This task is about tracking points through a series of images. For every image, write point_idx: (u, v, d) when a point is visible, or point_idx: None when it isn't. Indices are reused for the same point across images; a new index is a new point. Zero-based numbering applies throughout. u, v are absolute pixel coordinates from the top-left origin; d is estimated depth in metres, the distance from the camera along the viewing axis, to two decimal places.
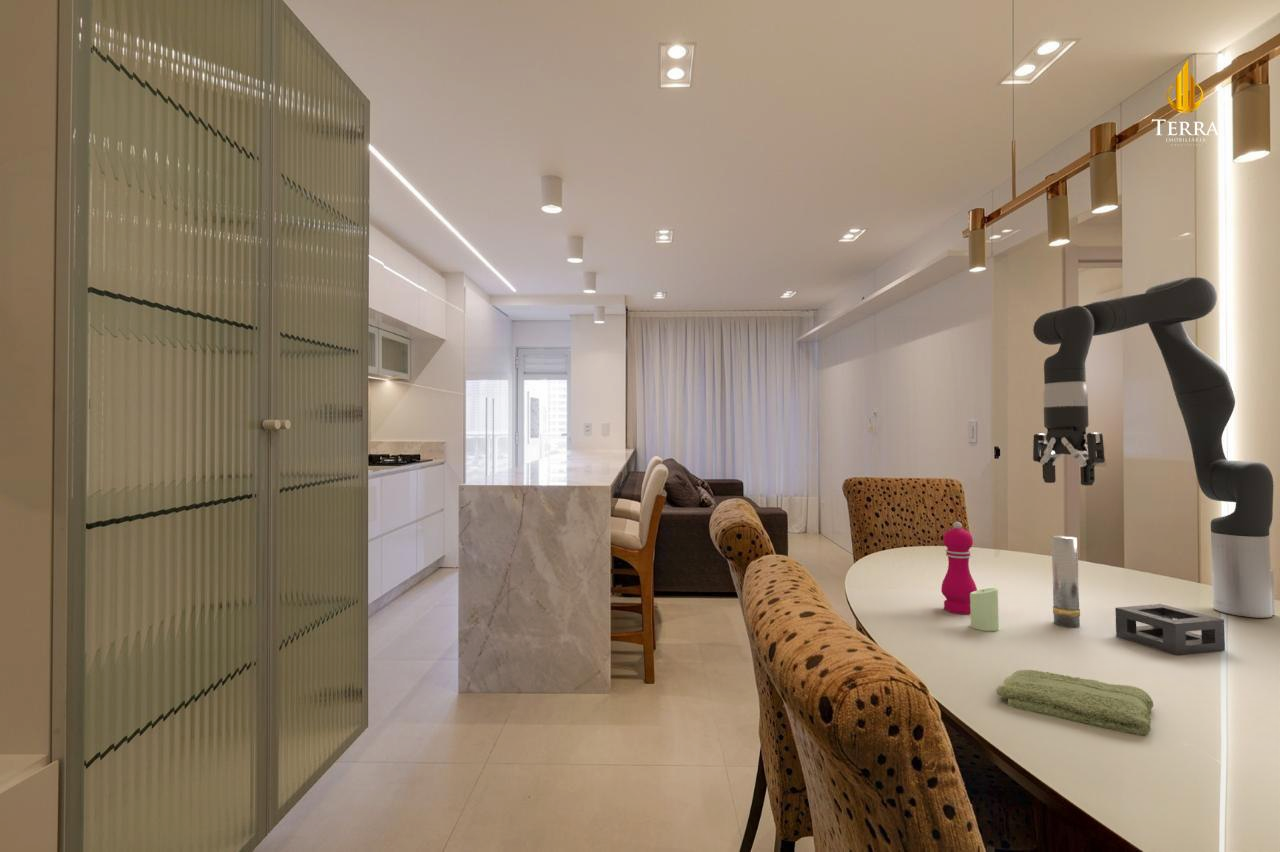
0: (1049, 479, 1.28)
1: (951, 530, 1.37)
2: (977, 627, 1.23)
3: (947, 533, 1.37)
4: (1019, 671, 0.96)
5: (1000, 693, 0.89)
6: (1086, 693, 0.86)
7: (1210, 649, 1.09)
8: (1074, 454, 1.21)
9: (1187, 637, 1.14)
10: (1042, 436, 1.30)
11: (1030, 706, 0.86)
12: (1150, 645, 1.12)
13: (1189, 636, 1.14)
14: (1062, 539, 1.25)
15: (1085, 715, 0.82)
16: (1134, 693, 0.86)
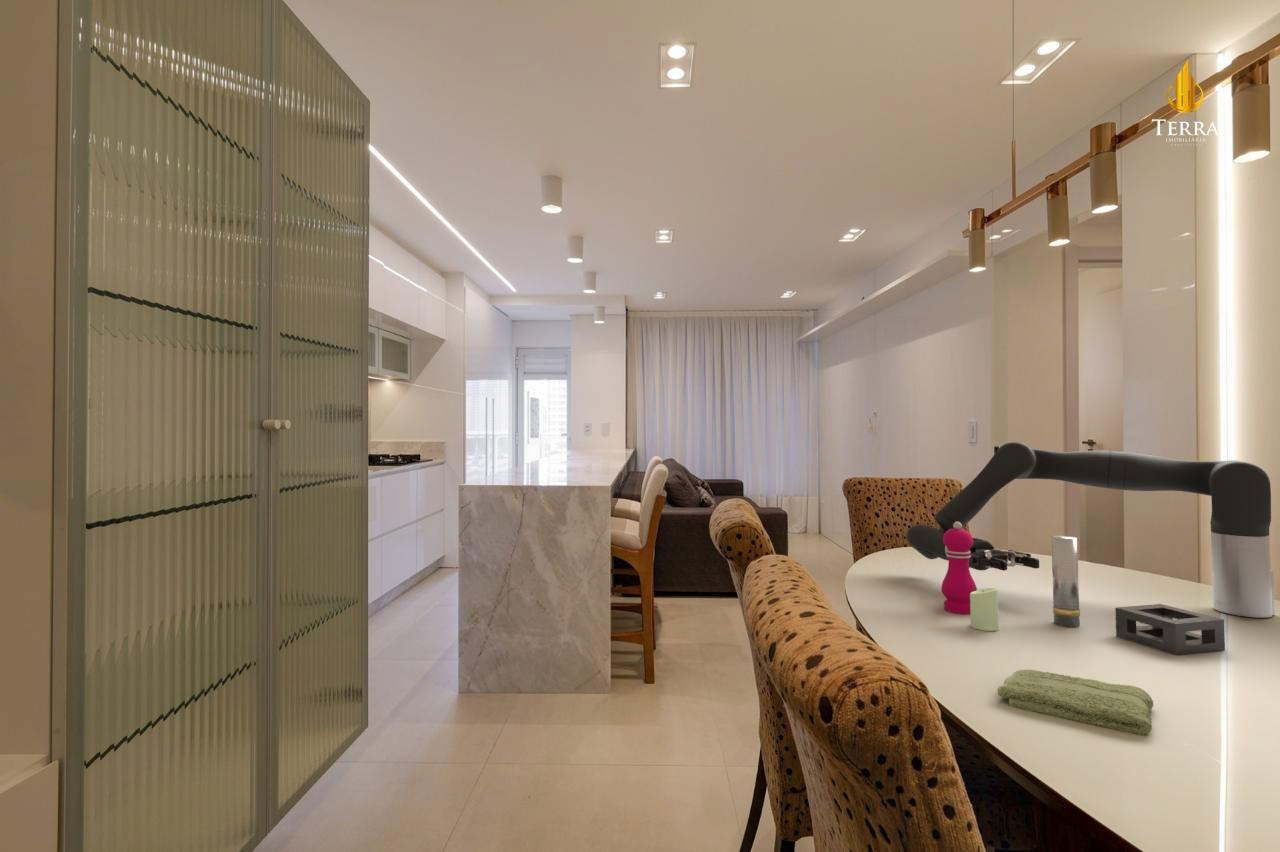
0: (1034, 565, 1.39)
1: (951, 530, 1.37)
2: (977, 627, 1.23)
3: (947, 533, 1.37)
4: (1019, 671, 0.96)
5: (1001, 693, 0.89)
6: (1087, 693, 0.86)
7: (1210, 649, 1.09)
8: None
9: (1187, 637, 1.14)
10: None
11: (1031, 706, 0.86)
12: (1150, 645, 1.12)
13: (1189, 636, 1.14)
14: (1062, 539, 1.25)
15: (1087, 715, 0.82)
16: (1135, 693, 0.86)
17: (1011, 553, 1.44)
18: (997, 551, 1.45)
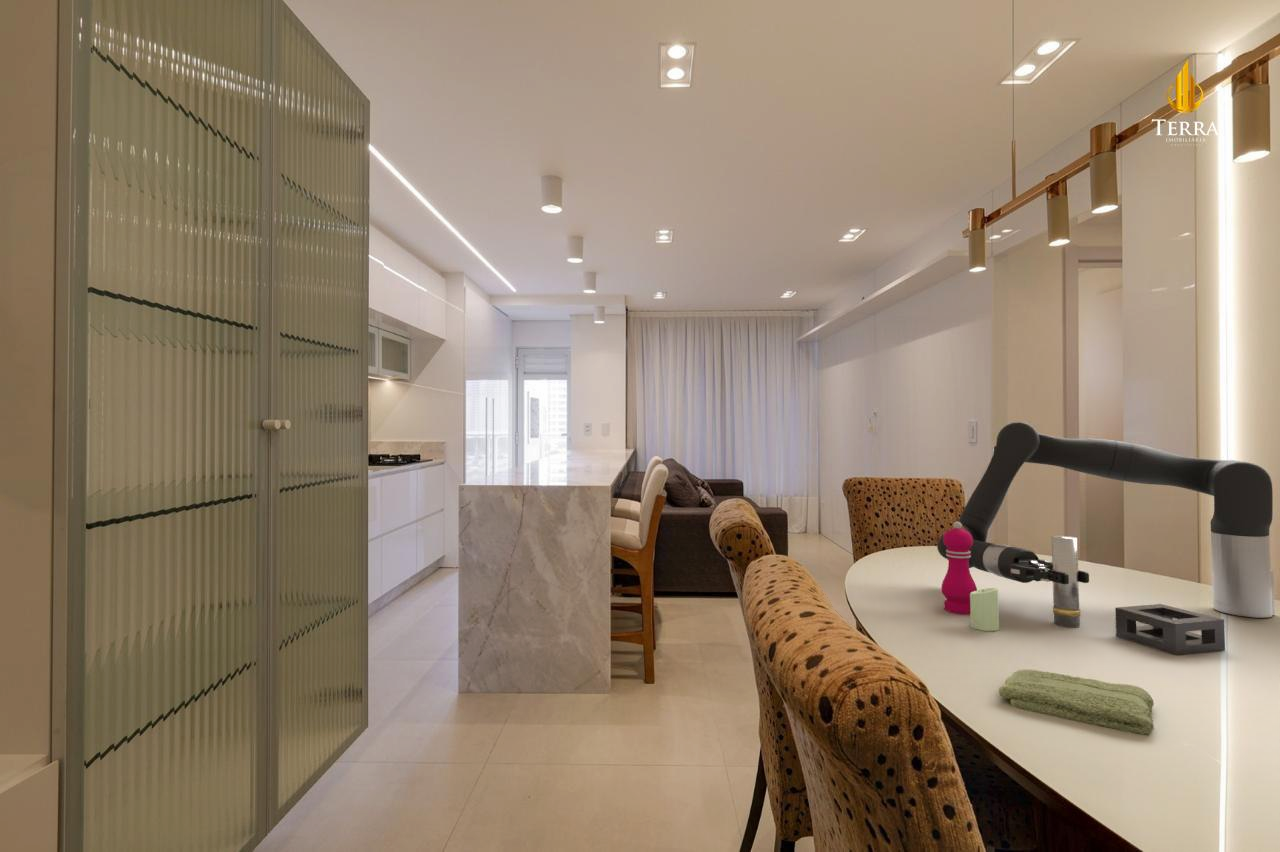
0: (1083, 579, 1.25)
1: (951, 530, 1.37)
2: (977, 627, 1.23)
3: (947, 533, 1.37)
4: (1019, 671, 0.96)
5: (1003, 693, 0.89)
6: (1088, 693, 0.86)
7: (1210, 649, 1.09)
8: (1041, 580, 1.30)
9: (1187, 637, 1.14)
10: None
11: (1033, 706, 0.86)
12: (1150, 645, 1.12)
13: (1189, 636, 1.14)
14: (1062, 539, 1.25)
15: (1088, 715, 0.83)
16: (1135, 693, 0.86)
17: None
18: (1042, 562, 1.33)
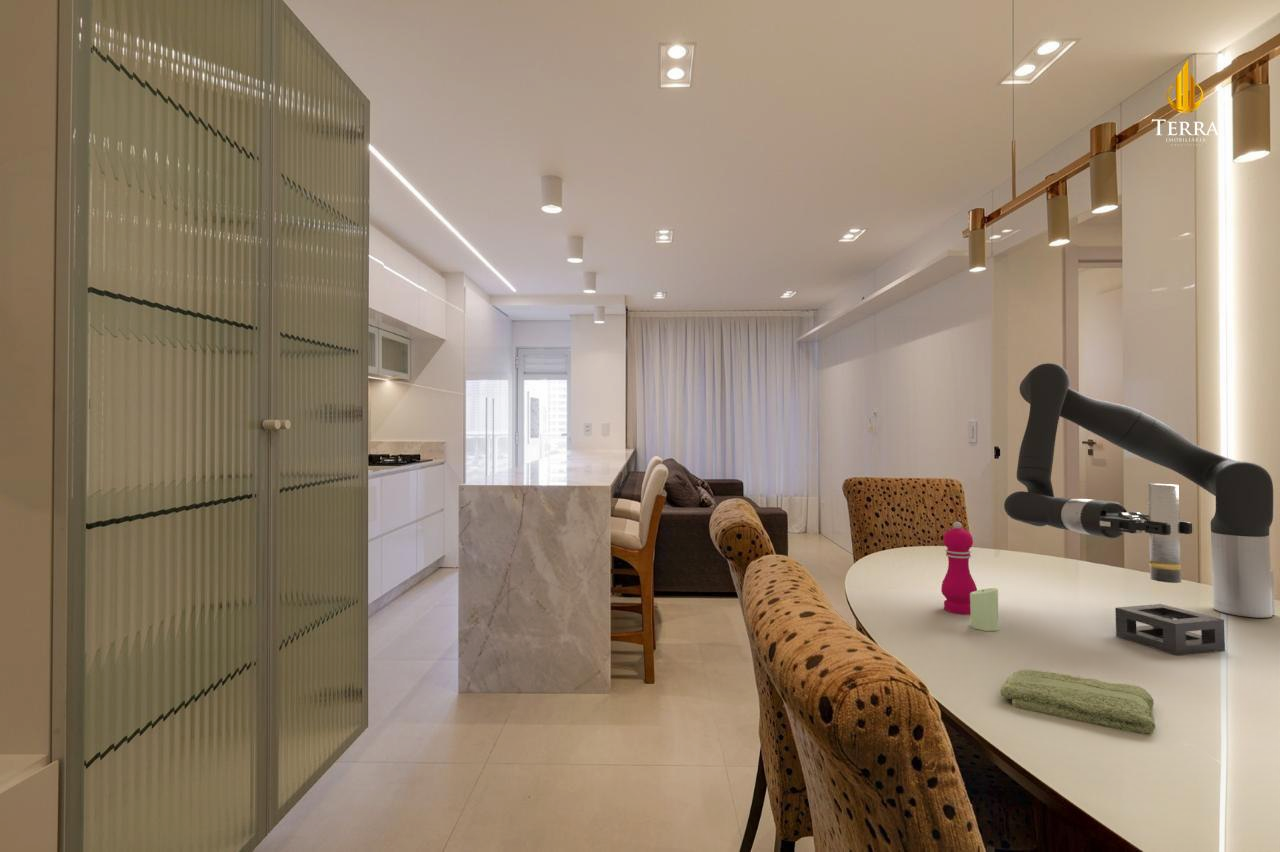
0: (1185, 530, 1.13)
1: (951, 530, 1.37)
2: (977, 627, 1.23)
3: (947, 533, 1.37)
4: (1020, 671, 0.96)
5: (1004, 693, 0.89)
6: (1089, 692, 0.86)
7: (1210, 649, 1.09)
8: None
9: (1187, 637, 1.14)
10: None
11: (1035, 706, 0.86)
12: (1150, 645, 1.12)
13: (1189, 636, 1.14)
14: (1162, 486, 1.13)
15: (1090, 715, 0.83)
16: (1136, 692, 0.86)
17: None
18: (1133, 514, 1.21)
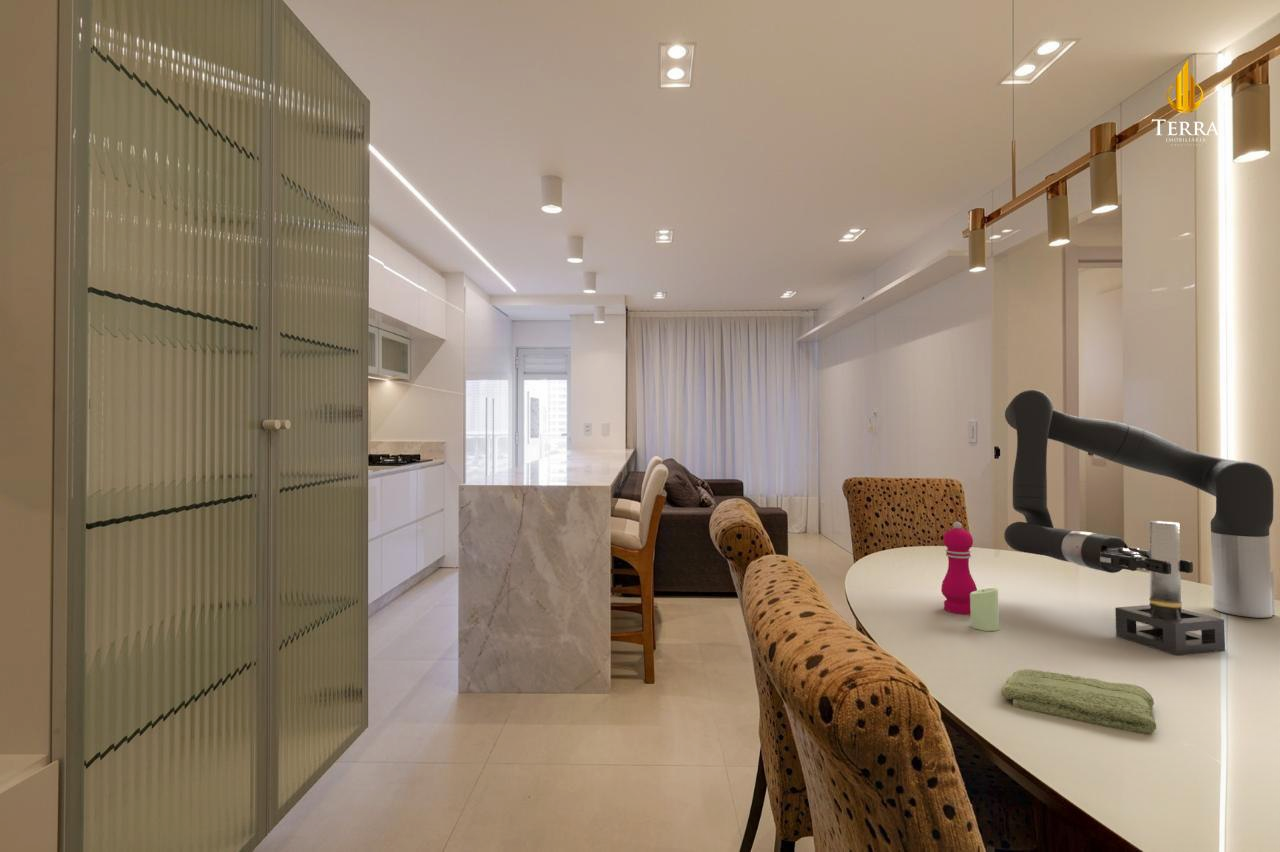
0: (1185, 569, 1.13)
1: (951, 530, 1.37)
2: (977, 627, 1.23)
3: (947, 533, 1.37)
4: (1020, 671, 0.96)
5: (1005, 694, 0.89)
6: (1090, 692, 0.86)
7: (1210, 649, 1.09)
8: None
9: (1187, 637, 1.14)
10: None
11: (1035, 706, 0.86)
12: (1150, 645, 1.12)
13: (1189, 636, 1.14)
14: (1163, 524, 1.13)
15: (1091, 715, 0.83)
16: (1136, 692, 0.86)
17: None
18: (1134, 550, 1.21)
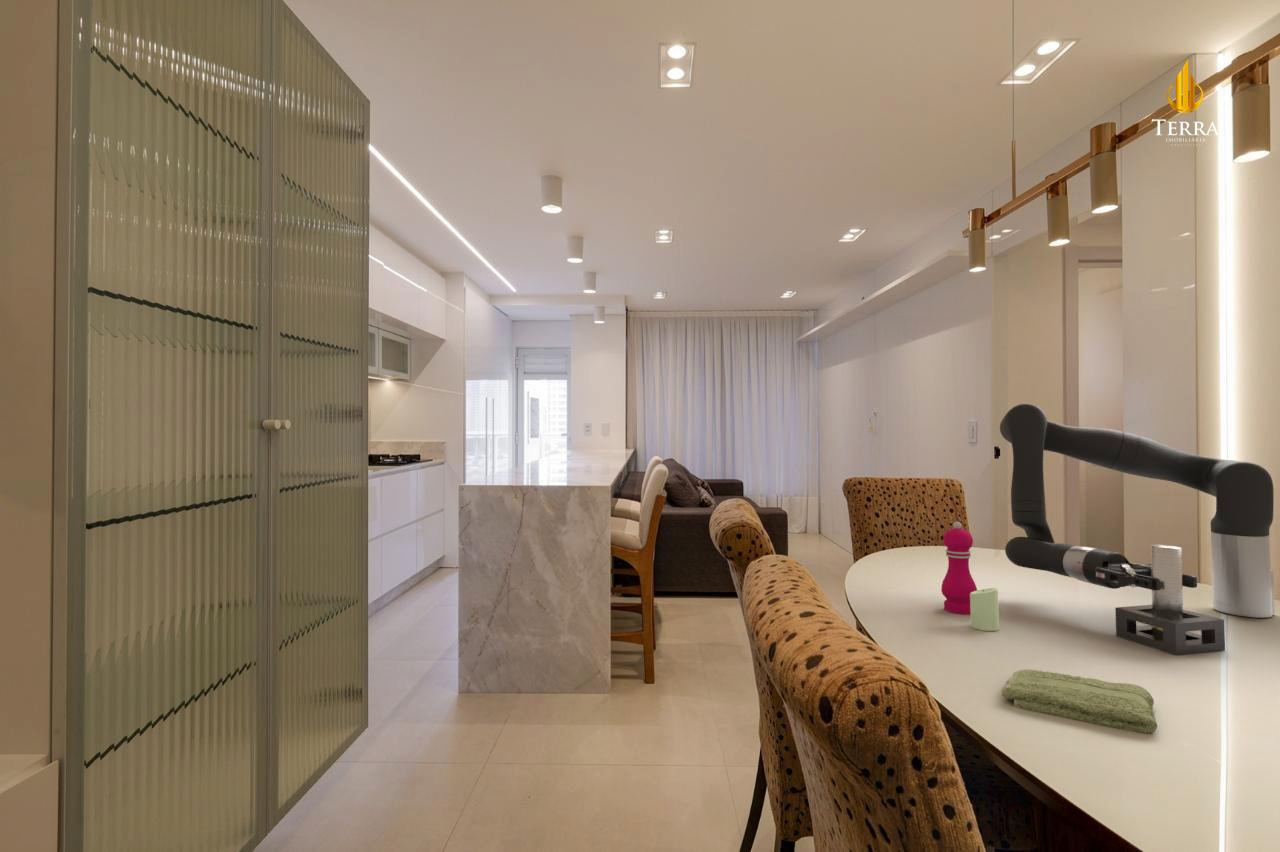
0: (1190, 583, 1.14)
1: (951, 530, 1.37)
2: (977, 627, 1.23)
3: (947, 533, 1.37)
4: (1020, 671, 0.96)
5: (1006, 694, 0.89)
6: (1090, 692, 0.86)
7: (1210, 649, 1.09)
8: None
9: (1187, 637, 1.14)
10: None
11: (1037, 707, 0.86)
12: (1150, 645, 1.12)
13: (1189, 636, 1.14)
14: (1165, 549, 1.13)
15: (1092, 715, 0.83)
16: (1136, 691, 0.86)
17: None
18: (1137, 566, 1.21)
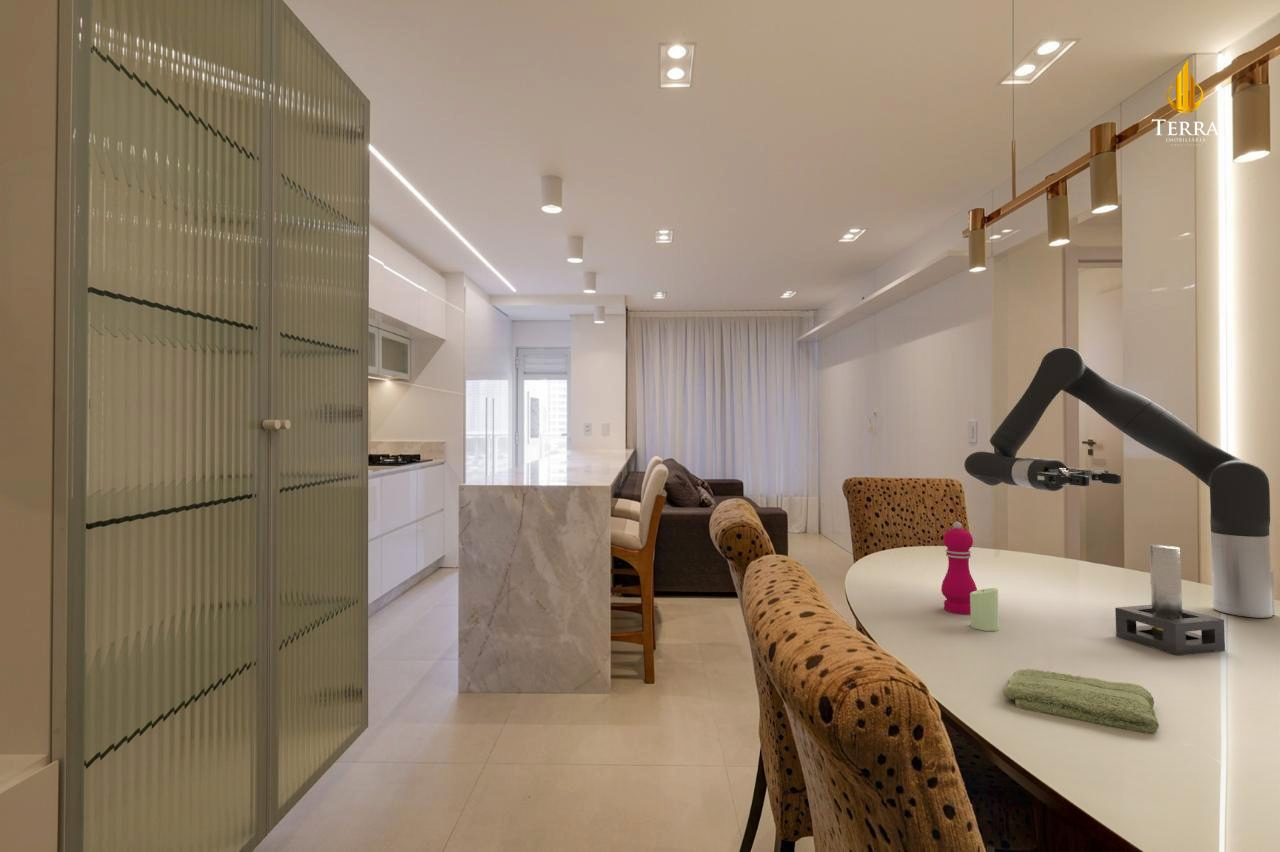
0: (1115, 480, 1.33)
1: (951, 530, 1.37)
2: (977, 627, 1.23)
3: (947, 533, 1.37)
4: (1020, 671, 0.96)
5: (1007, 694, 0.89)
6: (1091, 692, 0.86)
7: (1210, 649, 1.09)
8: (1065, 485, 1.36)
9: (1187, 637, 1.14)
10: None
11: (1038, 706, 0.86)
12: (1150, 645, 1.12)
13: (1189, 636, 1.14)
14: (1164, 549, 1.13)
15: (1094, 714, 0.83)
16: (1137, 691, 0.86)
17: (1088, 470, 1.37)
18: (1072, 469, 1.39)
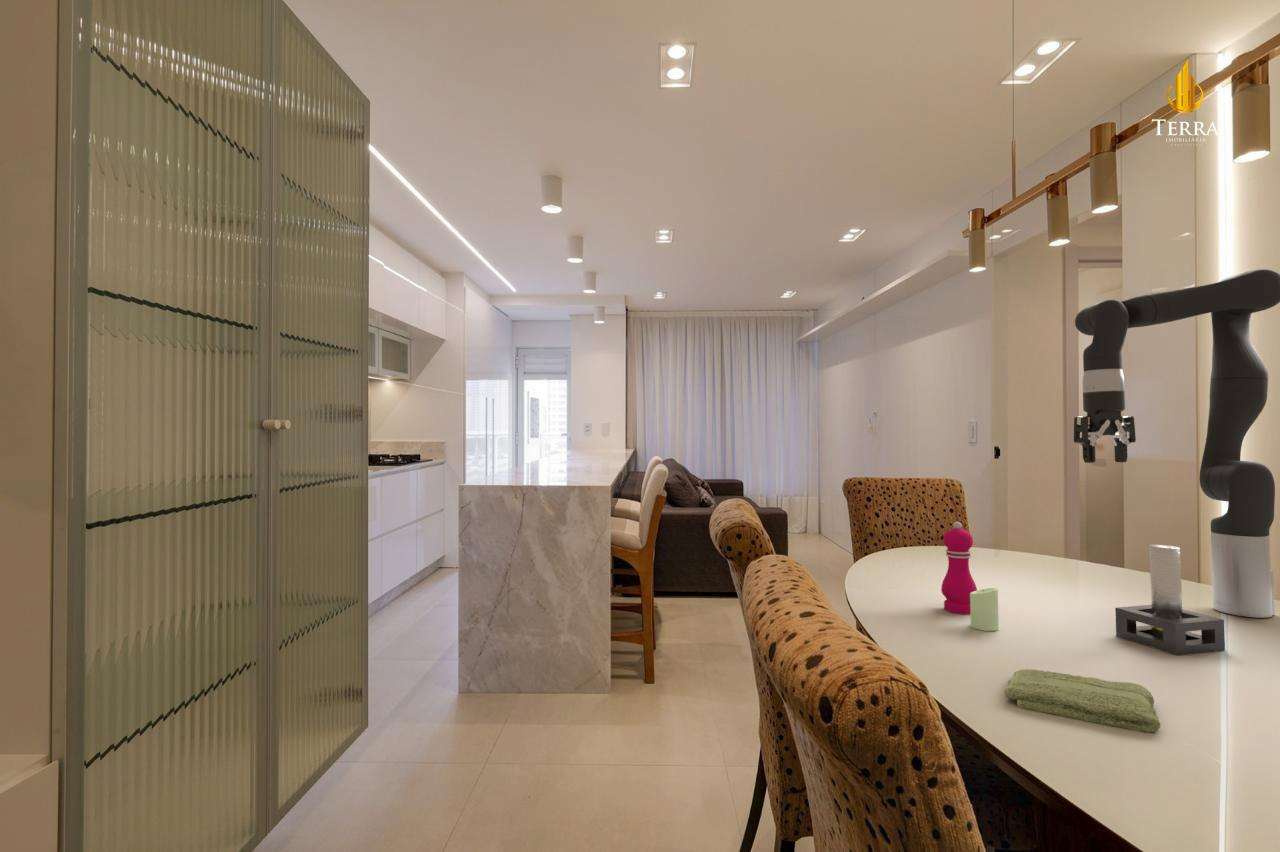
0: (1117, 459, 1.38)
1: (951, 530, 1.37)
2: (977, 627, 1.23)
3: (947, 533, 1.37)
4: (1020, 671, 0.96)
5: (1008, 694, 0.89)
6: (1092, 692, 0.86)
7: (1210, 649, 1.09)
8: None
9: (1187, 637, 1.14)
10: None
11: (1040, 707, 0.86)
12: (1150, 645, 1.12)
13: (1189, 636, 1.14)
14: (1164, 549, 1.13)
15: (1096, 714, 0.83)
16: (1137, 690, 0.87)
17: (1120, 435, 1.36)
18: (1114, 425, 1.35)
